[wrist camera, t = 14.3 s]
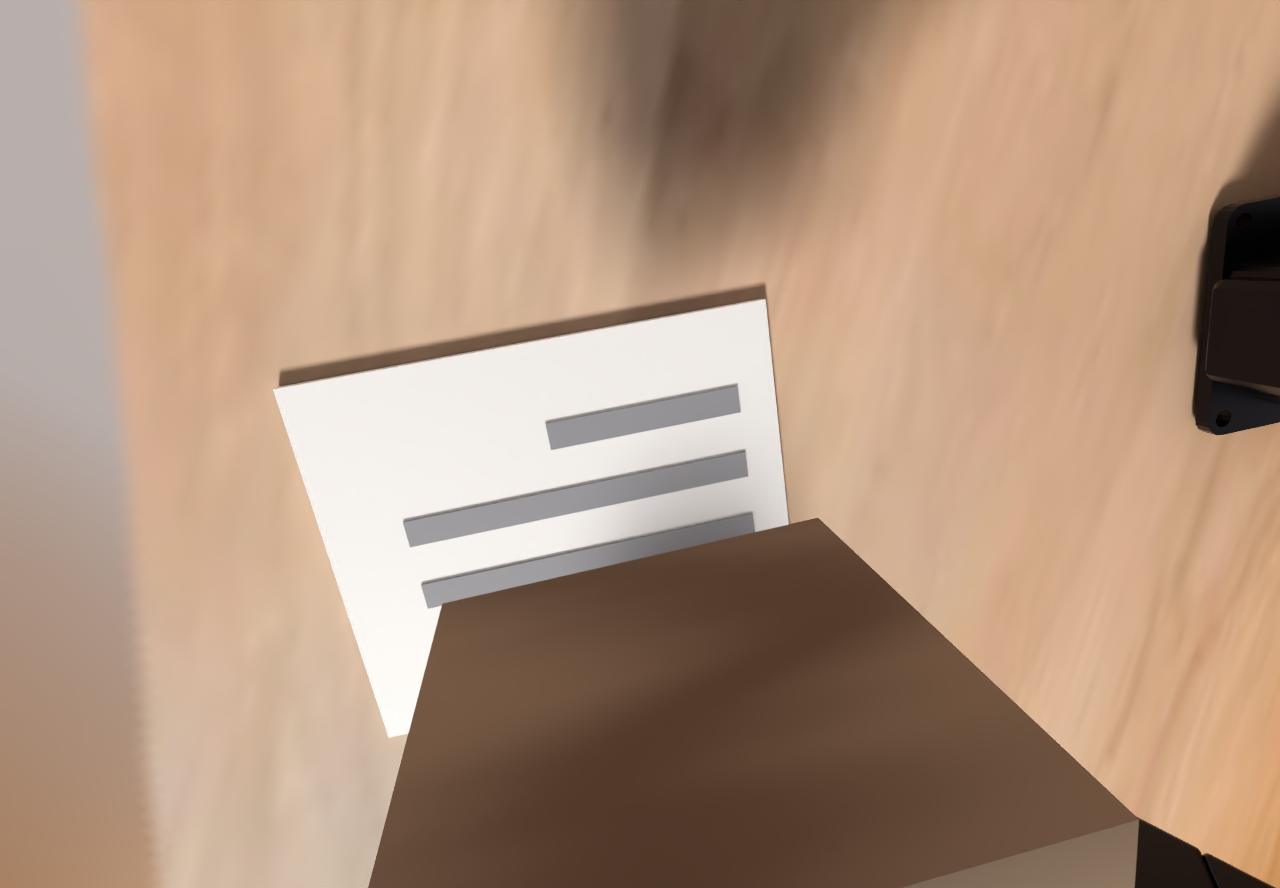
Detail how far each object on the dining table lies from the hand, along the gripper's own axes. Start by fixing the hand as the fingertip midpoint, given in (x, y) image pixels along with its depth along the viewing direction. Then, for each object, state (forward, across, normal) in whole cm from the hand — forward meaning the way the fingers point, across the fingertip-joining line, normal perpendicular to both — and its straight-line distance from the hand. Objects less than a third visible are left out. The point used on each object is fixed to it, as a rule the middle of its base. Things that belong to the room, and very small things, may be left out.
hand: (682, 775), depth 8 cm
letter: (+10, +1, 0) cm, 10 cm away
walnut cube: (+1, 0, 0) cm, 1 cm away
